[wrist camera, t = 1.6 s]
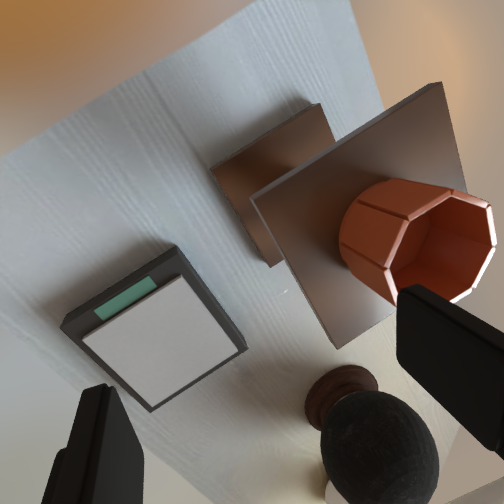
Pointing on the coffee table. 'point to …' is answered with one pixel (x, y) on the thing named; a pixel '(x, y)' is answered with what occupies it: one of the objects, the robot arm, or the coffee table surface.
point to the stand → (335, 195)
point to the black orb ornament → (371, 440)
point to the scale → (156, 330)
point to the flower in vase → (333, 495)
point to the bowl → (417, 238)
